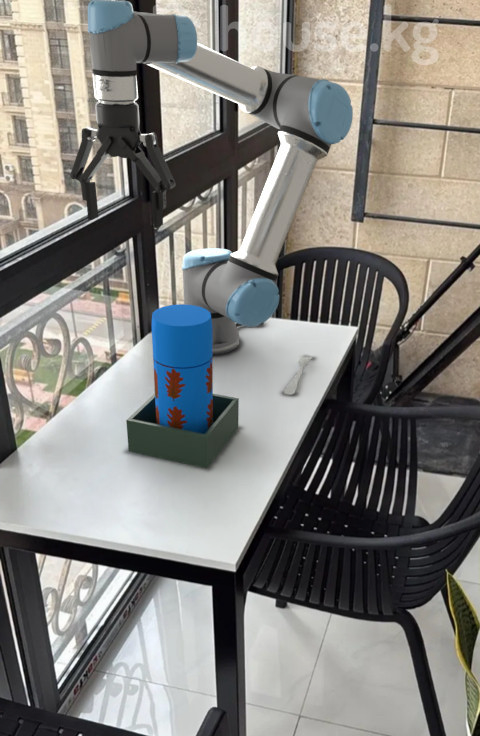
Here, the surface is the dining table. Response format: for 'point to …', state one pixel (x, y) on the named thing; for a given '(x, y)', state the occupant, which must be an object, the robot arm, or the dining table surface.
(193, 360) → the thermos
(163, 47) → the robot arm
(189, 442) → the box
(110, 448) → the dining table surface
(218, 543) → the dining table surface
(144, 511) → the dining table surface
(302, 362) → the fork
